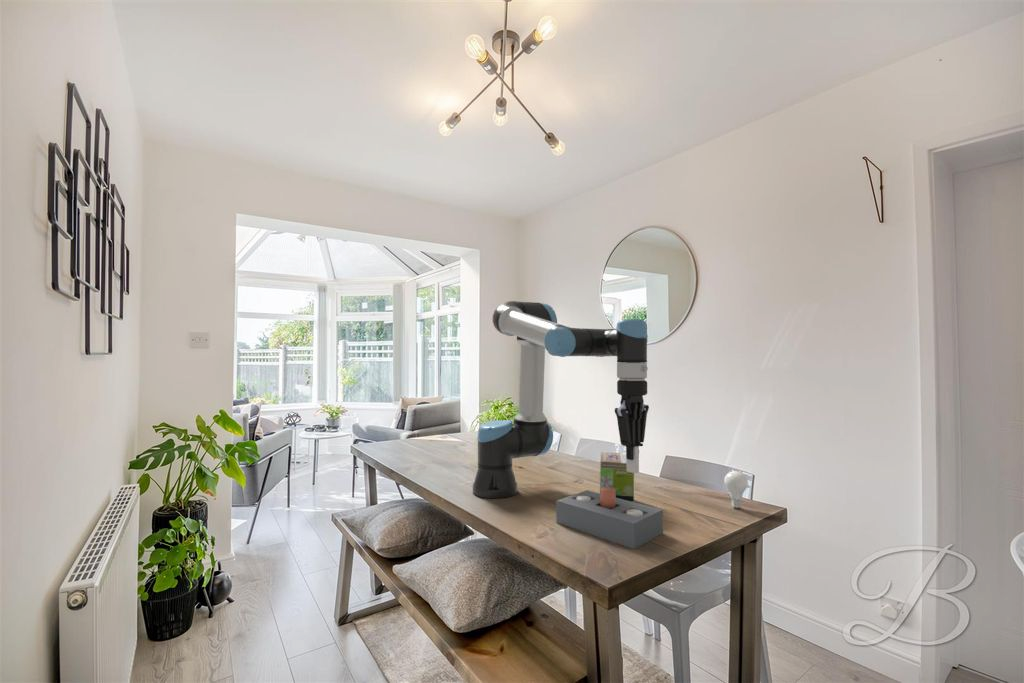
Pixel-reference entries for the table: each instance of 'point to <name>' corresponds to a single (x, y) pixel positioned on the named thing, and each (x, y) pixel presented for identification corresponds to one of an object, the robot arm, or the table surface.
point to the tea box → (616, 475)
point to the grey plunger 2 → (634, 512)
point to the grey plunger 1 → (583, 498)
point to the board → (610, 519)
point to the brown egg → (607, 497)
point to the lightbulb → (736, 487)
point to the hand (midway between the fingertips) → (632, 471)
